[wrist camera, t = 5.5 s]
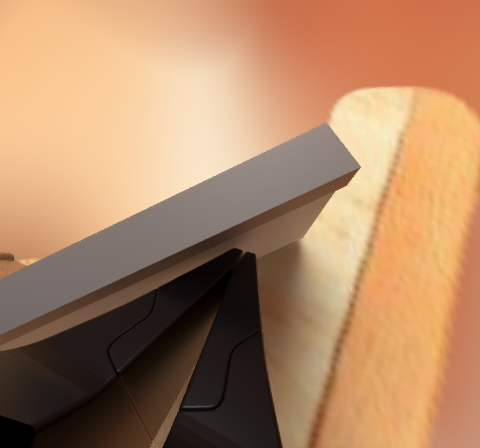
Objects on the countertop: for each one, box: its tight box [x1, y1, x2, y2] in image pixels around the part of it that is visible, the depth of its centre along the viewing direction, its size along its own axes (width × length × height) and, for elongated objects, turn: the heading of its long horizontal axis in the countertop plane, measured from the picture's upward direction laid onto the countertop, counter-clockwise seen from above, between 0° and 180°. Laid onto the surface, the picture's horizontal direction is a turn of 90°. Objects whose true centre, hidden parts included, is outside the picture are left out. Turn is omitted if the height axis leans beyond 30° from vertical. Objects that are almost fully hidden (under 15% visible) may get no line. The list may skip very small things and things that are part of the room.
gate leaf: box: [0, 123, 361, 351], centre depth 10 cm, size 17×2×10 cm, turn 113°
